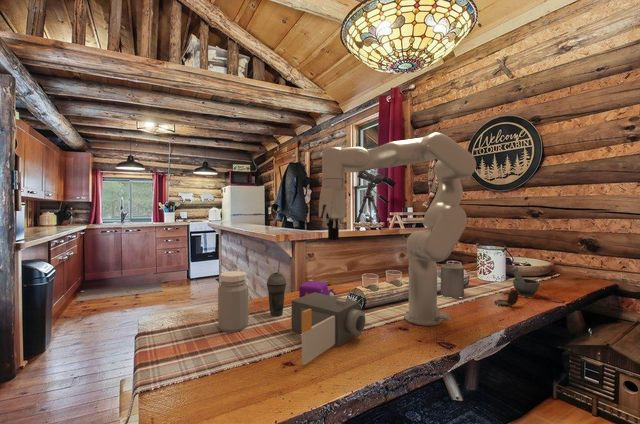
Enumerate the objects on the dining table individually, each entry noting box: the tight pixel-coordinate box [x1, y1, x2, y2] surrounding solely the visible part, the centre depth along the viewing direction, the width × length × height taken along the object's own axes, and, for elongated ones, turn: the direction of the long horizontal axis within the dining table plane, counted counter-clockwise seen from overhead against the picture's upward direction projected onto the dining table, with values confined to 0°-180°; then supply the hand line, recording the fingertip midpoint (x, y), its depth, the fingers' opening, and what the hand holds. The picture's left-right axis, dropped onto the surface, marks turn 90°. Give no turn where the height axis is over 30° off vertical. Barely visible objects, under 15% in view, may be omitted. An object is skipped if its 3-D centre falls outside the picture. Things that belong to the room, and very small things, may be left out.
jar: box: [217, 270, 249, 333], centre depth 100 cm, size 10×10×18 cm
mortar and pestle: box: [511, 267, 540, 298], centre depth 136 cm, size 11×9×12 cm
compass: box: [494, 289, 519, 307], centre depth 123 cm, size 8×8×7 cm
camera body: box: [291, 292, 366, 348], centre depth 95 cm, size 22×12×11 cm, turn 53°
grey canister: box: [440, 262, 465, 298], centre depth 136 cm, size 10×10×15 cm
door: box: [301, 309, 335, 366], centre depth 80 cm, size 14×1×13 cm, turn 144°
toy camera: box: [298, 279, 335, 298], centre depth 121 cm, size 11×14×10 cm
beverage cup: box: [266, 260, 287, 318], centre depth 112 cm, size 7×7×20 cm
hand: (333, 239), depth 101 cm, fingers closed
